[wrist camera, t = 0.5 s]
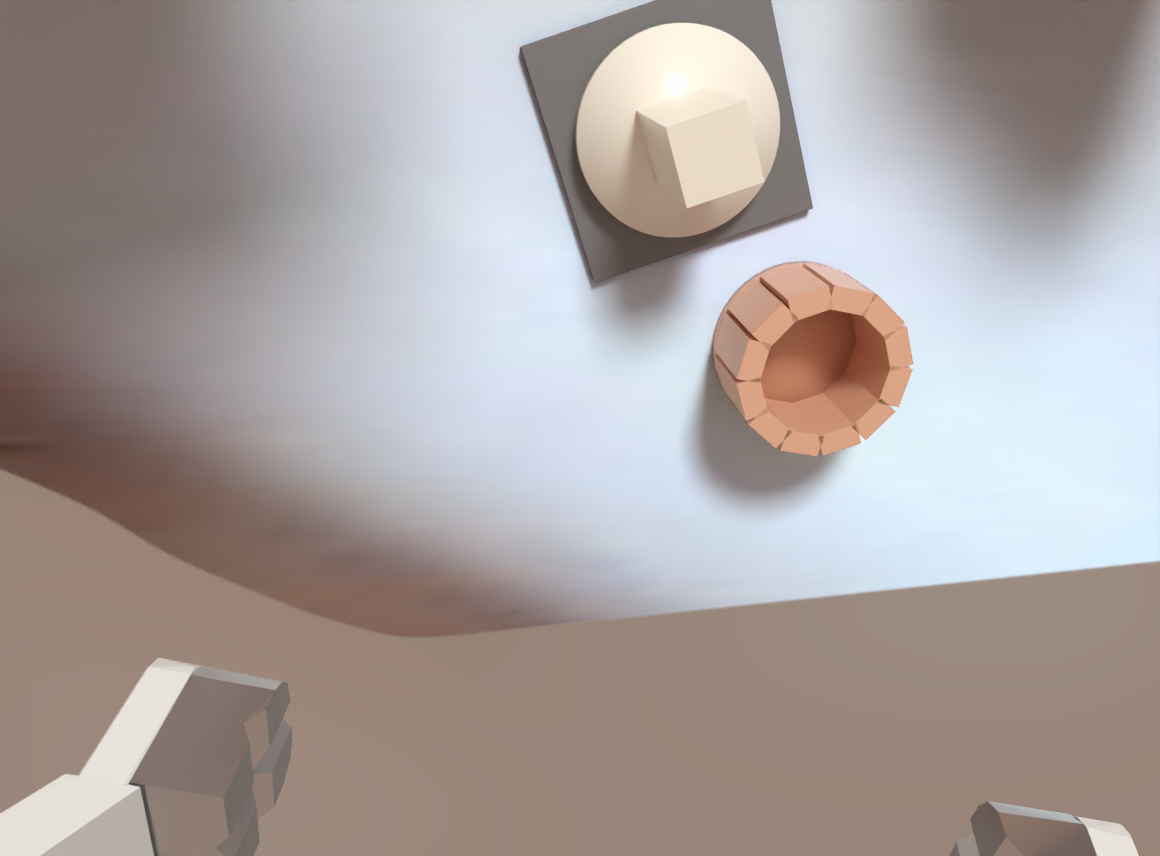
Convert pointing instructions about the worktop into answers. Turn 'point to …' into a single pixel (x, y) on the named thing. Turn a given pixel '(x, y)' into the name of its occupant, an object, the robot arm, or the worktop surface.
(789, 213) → the rubber mat
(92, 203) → the worktop surface
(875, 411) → the bowl
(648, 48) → the lid
